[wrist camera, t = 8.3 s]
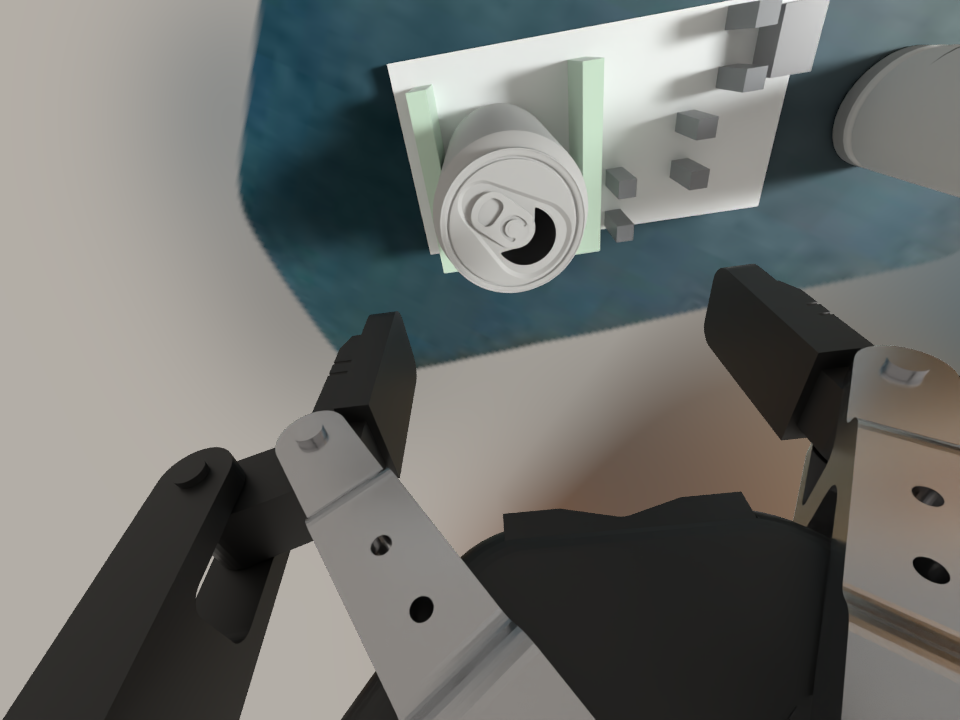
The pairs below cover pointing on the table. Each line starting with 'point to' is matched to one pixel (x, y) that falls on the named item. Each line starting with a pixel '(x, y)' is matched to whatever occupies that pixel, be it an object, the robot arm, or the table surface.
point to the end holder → (582, 140)
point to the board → (642, 101)
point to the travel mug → (906, 118)
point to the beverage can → (508, 201)
